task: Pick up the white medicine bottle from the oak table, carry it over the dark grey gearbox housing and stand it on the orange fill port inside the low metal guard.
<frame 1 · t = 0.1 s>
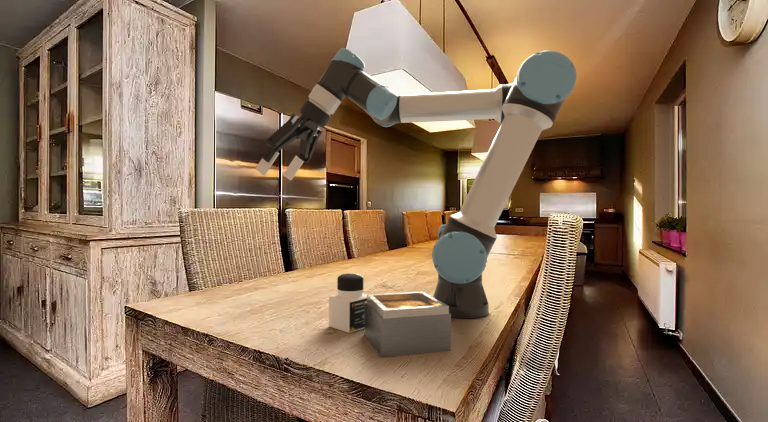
hand: (274, 175, 96), 36 cm above the table, tool tilted 35°, fingers open, 13 cm apart
gearbox: (405, 341, 74), on the table
medicine bottle: (350, 327, 84), on the table
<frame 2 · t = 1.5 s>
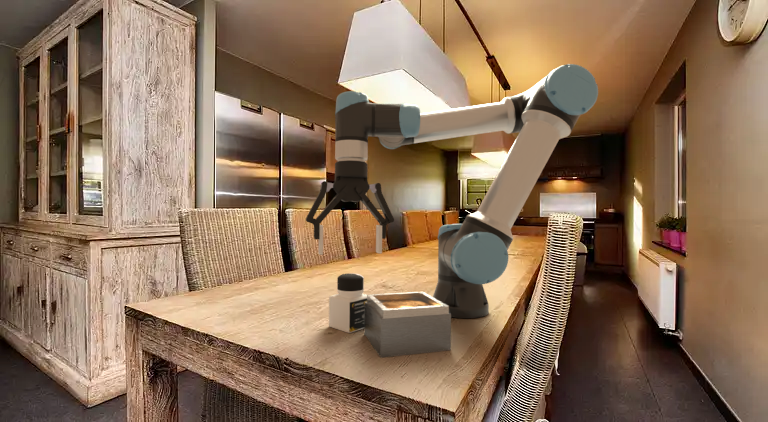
hand: (350, 253, 84), 17 cm above the table, tool pointing down, fingers open, 13 cm apart
nothing on the table moved.
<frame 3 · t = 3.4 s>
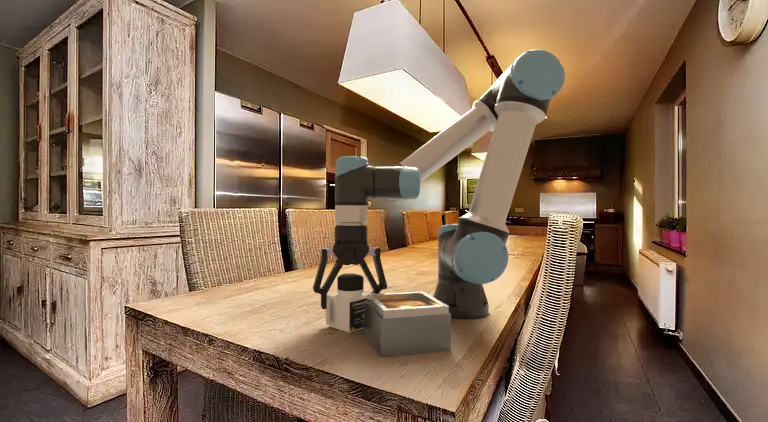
hand: (350, 321, 84), 1 cm above the table, tool pointing down, fingers closed on medicine bottle, 10 cm apart
medicine bottle: (350, 327, 84), on the table, touching gripper
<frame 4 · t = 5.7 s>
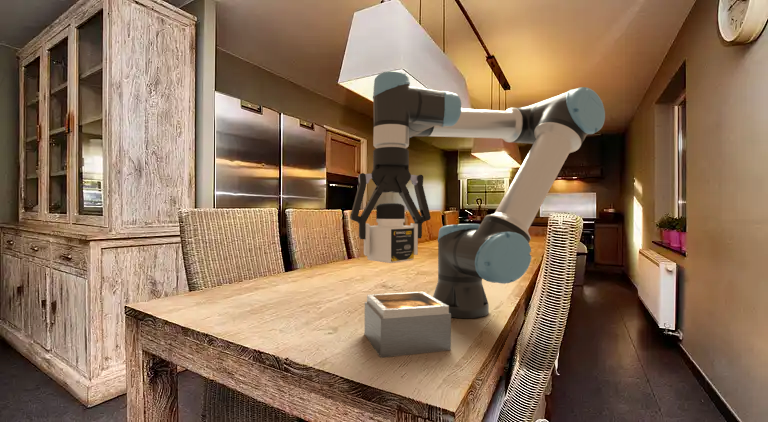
hand: (390, 254, 77), 17 cm above the table, tool pointing down, fingers closed on medicine bottle, 10 cm apart
medicine bottle: (390, 261, 77), point 16 cm above the table, touching gripper
when the fingers open (10 cm above the table, at t = 7.8 s): medicine bottle drops 2 cm, resting on gearbox.
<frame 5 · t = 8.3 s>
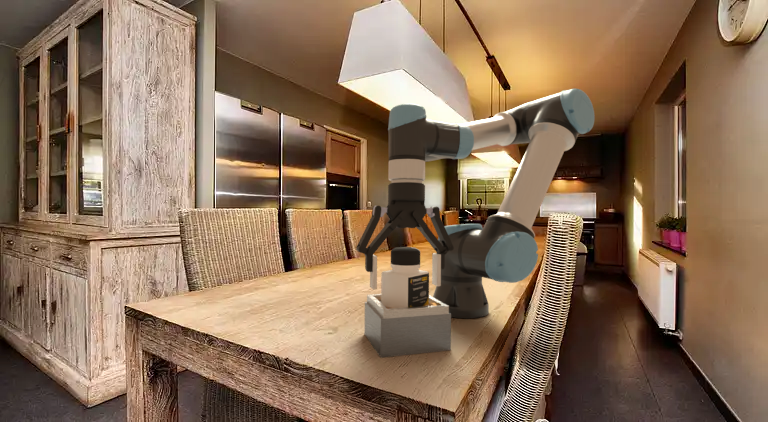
hand: (405, 286, 74), 11 cm above the table, tool pointing down, fingers open, 13 cm apart
medicine bottle: (405, 307, 74), point 7 cm above the table, touching gearbox
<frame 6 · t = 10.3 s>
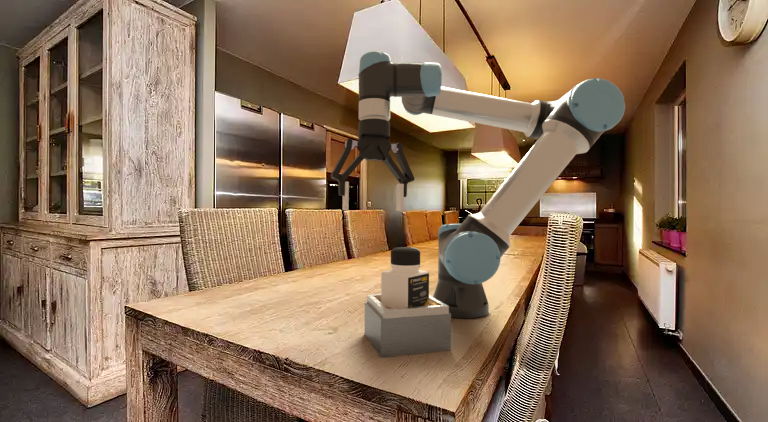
hand: (373, 210, 86), 27 cm above the table, tool pointing down, fingers open, 13 cm apart
nothing on the table moved.
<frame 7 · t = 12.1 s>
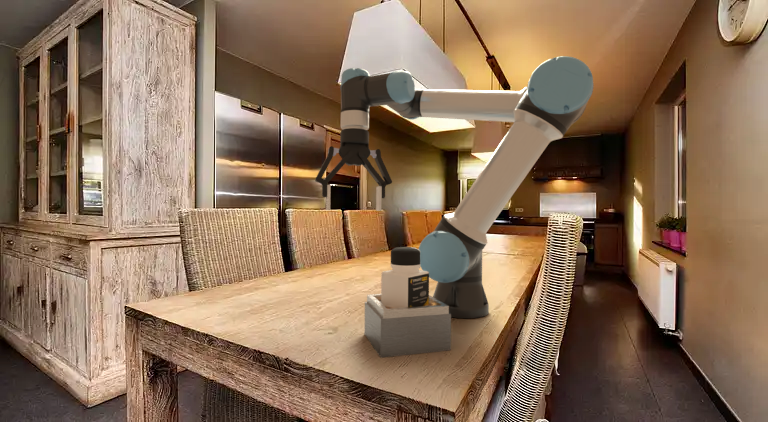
hand: (353, 210, 96), 27 cm above the table, tool pointing down, fingers open, 13 cm apart
nothing on the table moved.
at the end: medicine bottle inside the target area on the gearbox (0.1 cm from its centre), point 7.0 cm above the gearbox's base; medicine bottle tilted 0°; the gripper is holding nothing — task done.
